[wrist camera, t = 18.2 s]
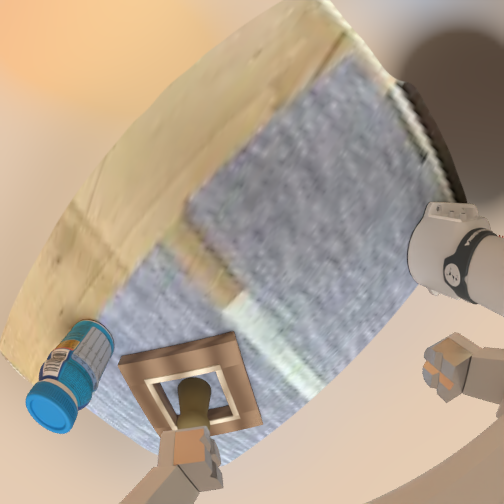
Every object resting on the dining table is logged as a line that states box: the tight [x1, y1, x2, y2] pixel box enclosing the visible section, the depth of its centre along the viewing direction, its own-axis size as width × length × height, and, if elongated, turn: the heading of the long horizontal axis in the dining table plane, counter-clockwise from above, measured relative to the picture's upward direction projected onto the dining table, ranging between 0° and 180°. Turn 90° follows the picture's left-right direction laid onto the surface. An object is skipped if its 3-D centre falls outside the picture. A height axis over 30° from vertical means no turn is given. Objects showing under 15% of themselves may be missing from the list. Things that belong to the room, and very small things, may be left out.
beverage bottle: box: [26, 320, 114, 434], centre depth 33 cm, size 8×8×20 cm
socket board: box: [118, 331, 263, 438], centre depth 46 cm, size 20×20×3 cm
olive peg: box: [177, 377, 211, 431], centre depth 42 cm, size 6×6×11 cm
